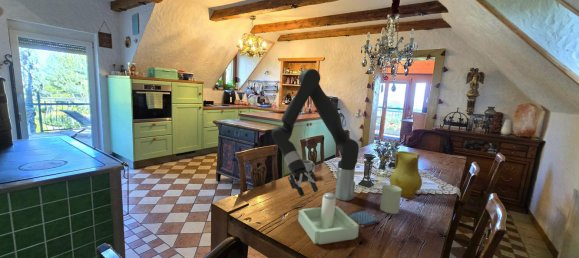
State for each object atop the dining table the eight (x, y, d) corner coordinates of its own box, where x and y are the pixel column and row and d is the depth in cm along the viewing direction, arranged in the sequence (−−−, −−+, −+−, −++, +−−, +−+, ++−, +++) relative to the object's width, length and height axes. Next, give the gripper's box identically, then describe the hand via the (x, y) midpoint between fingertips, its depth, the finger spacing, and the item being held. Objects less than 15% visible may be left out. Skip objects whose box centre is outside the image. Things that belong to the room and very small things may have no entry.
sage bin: (335, 215, 121) (336, 205, 120) (358, 238, 103) (360, 226, 102) (297, 219, 115) (298, 209, 114) (315, 245, 97) (316, 232, 96)
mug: (302, 178, 168) (303, 163, 167) (296, 174, 176) (297, 160, 174) (318, 177, 173) (319, 162, 172) (312, 172, 181) (313, 159, 179)
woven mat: (362, 213, 126) (362, 209, 125) (379, 223, 117) (380, 219, 116) (346, 217, 120) (346, 213, 120) (363, 229, 111) (363, 224, 111)
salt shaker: (329, 222, 112) (332, 192, 110) (335, 228, 107) (338, 197, 105) (317, 223, 110) (320, 192, 108) (323, 230, 105) (326, 198, 103)
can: (398, 207, 133) (401, 185, 131) (399, 215, 125) (402, 192, 123) (379, 204, 136) (382, 182, 134) (379, 211, 127) (382, 188, 126)
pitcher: (387, 195, 147) (394, 152, 144) (388, 186, 164) (394, 148, 161) (421, 202, 141) (428, 158, 138) (417, 192, 158) (424, 152, 155)
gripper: (287, 160, 116) (302, 193, 109) (309, 156, 125) (325, 186, 118) (279, 168, 120) (293, 200, 114) (301, 164, 130) (316, 193, 123)
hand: (309, 193), depth 116 cm, fingers open, 8 cm apart
